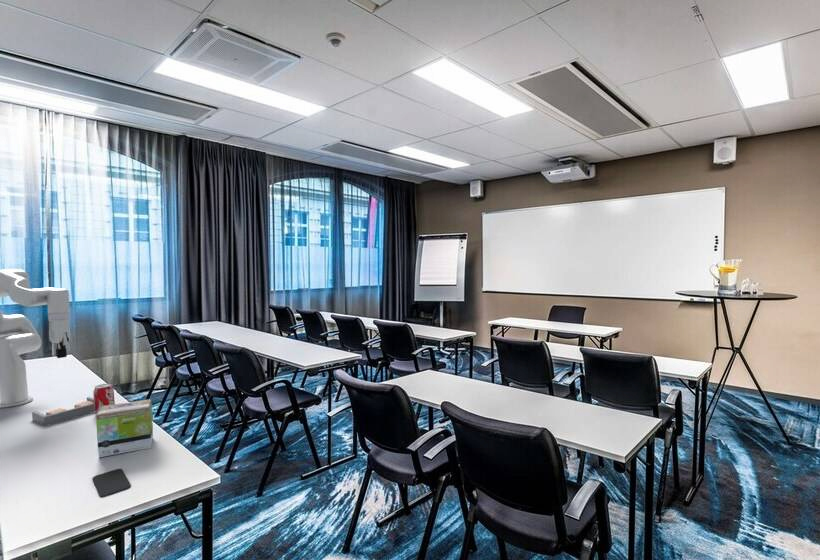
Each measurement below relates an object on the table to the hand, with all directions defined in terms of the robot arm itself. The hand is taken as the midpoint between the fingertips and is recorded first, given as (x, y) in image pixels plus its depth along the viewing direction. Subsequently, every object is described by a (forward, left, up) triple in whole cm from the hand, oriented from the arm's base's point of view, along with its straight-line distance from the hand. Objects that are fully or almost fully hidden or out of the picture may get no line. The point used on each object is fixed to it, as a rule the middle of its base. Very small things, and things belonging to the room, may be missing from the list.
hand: (61, 357), depth 189 cm
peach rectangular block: (+13, +2, -23) cm, 26 cm away
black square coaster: (+93, -22, -23) cm, 99 cm away
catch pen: (+14, -4, -22) cm, 27 cm away
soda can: (+27, +4, -23) cm, 36 cm away
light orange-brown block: (+14, -8, -23) cm, 28 cm away
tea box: (+72, -8, -23) cm, 76 cm away
